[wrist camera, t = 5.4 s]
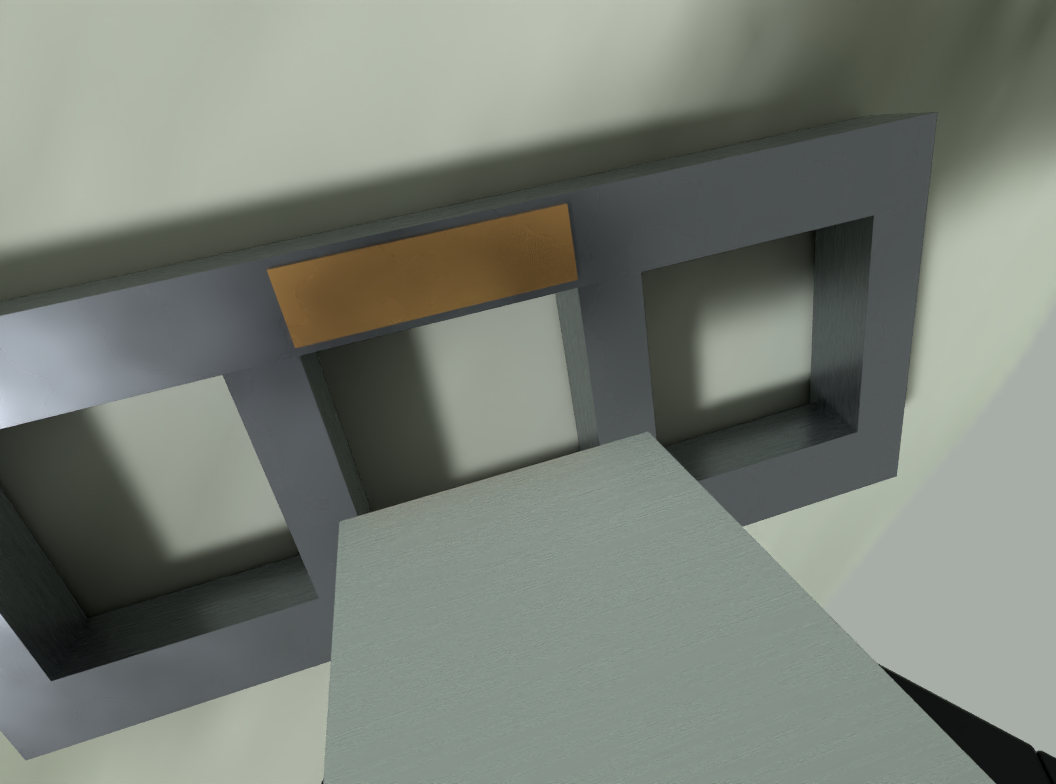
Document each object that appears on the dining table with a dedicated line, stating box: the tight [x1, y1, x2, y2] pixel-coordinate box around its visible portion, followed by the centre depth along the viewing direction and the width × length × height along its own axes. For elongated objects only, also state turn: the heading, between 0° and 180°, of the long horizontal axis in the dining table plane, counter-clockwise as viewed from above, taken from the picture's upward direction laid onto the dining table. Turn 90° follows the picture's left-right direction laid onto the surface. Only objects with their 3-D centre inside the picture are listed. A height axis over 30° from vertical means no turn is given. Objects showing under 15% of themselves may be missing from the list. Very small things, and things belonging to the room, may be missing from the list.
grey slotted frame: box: [0, 112, 937, 760], centre depth 15 cm, size 10×24×2 cm, turn 100°
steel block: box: [323, 432, 996, 784], centre depth 7 cm, size 4×4×6 cm
